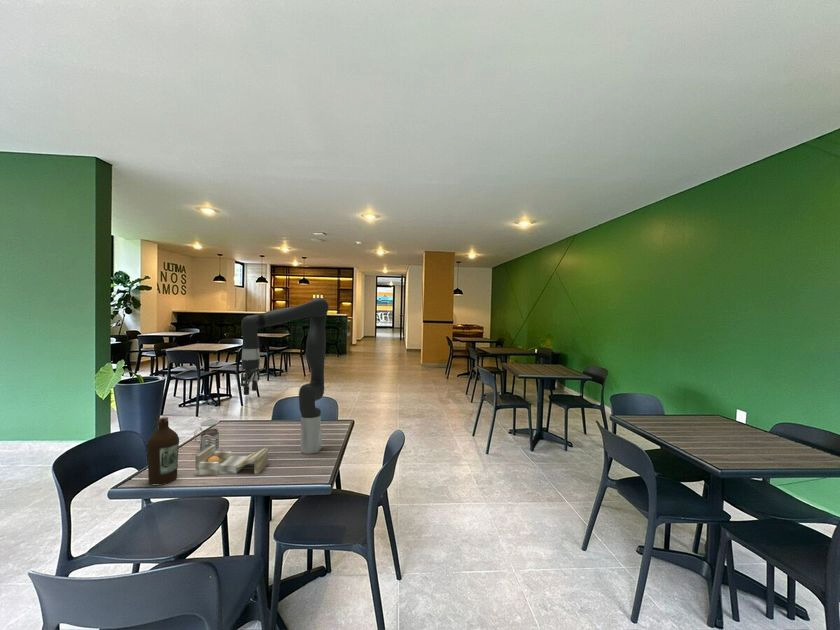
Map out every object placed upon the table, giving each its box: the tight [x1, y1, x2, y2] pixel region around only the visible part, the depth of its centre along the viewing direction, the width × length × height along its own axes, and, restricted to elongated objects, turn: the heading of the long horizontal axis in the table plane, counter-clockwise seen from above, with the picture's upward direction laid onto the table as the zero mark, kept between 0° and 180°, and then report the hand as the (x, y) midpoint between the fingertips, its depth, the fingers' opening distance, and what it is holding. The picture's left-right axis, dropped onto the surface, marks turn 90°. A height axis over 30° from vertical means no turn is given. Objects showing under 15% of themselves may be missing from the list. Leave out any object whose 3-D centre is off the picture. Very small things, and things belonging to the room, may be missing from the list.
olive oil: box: [146, 416, 180, 485], centre depth 146 cm, size 11×11×25 cm
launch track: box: [194, 444, 269, 476], centre depth 158 cm, size 26×12×8 cm, turn 91°
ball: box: [207, 456, 220, 464], centre depth 157 cm, size 5×5×5 cm
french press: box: [193, 399, 222, 455], centre depth 176 cm, size 10×12×25 cm
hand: (250, 392), depth 170 cm, fingers open, 8 cm apart
